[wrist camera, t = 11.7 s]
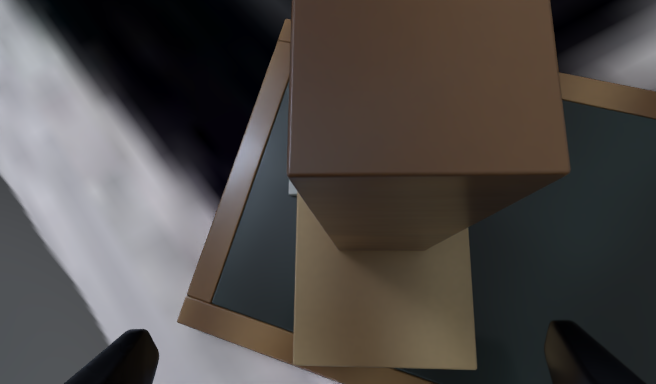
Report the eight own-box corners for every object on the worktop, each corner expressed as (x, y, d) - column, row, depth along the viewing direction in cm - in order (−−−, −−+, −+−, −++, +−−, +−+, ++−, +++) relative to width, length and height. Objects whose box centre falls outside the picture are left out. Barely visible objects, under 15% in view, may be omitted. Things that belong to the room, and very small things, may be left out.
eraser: (443, 91, 18) (624, -335, 6) (458, 355, 16) (824, 629, 3) (308, 95, 19) (201, -290, 6) (303, 352, 16) (110, 580, 4)
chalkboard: (840, 144, 17) (874, 134, 16) (800, 545, 14) (837, 568, 13) (290, 32, 21) (285, 18, 20) (188, 319, 19) (175, 322, 18)
